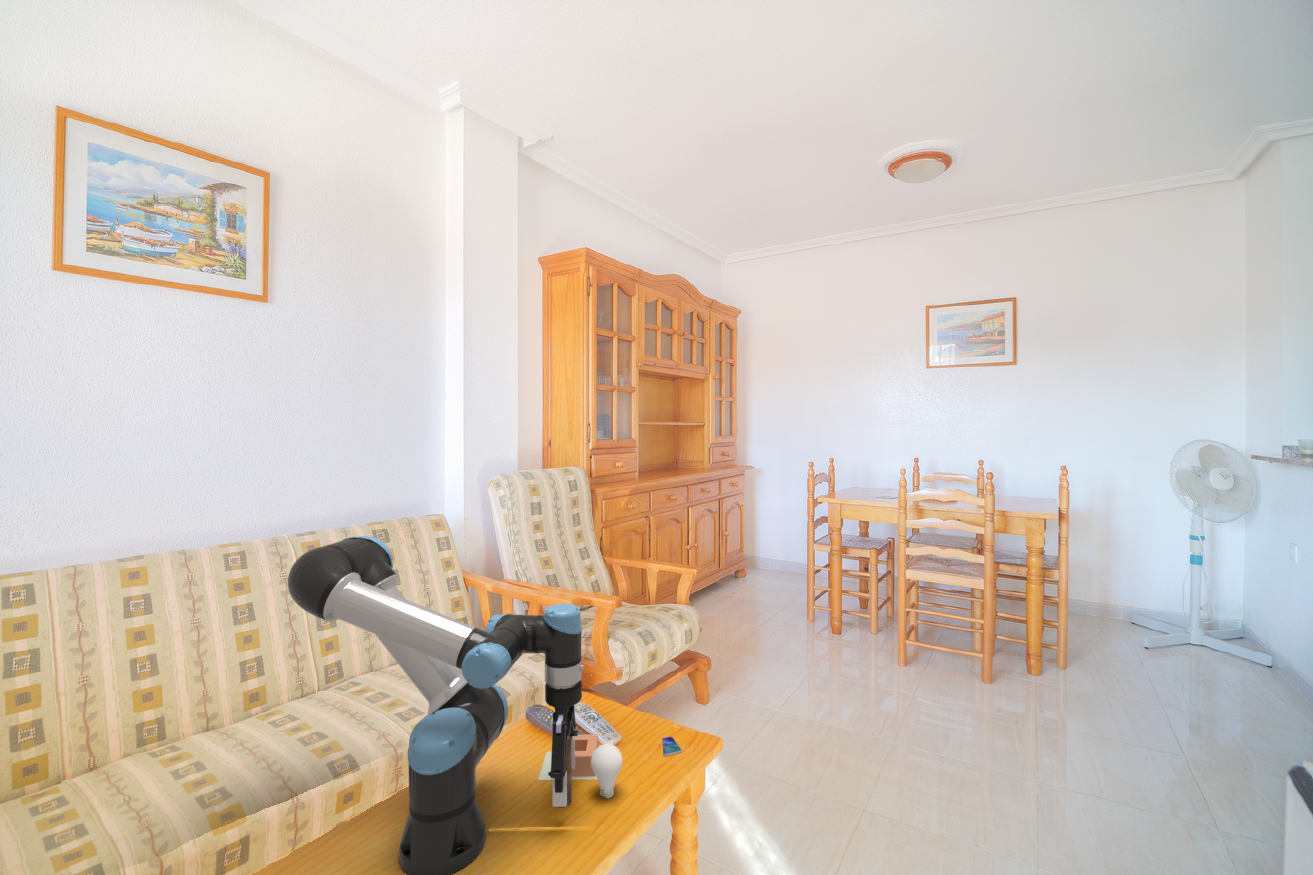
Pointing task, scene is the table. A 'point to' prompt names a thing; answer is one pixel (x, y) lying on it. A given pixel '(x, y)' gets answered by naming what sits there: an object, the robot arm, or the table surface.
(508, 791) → the table surface
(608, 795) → the light bulb
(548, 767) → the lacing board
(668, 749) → the smartphone
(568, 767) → the dark brown rod
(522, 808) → the table surface
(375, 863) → the table surface
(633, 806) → the table surface
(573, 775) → the terracotta hollow block
